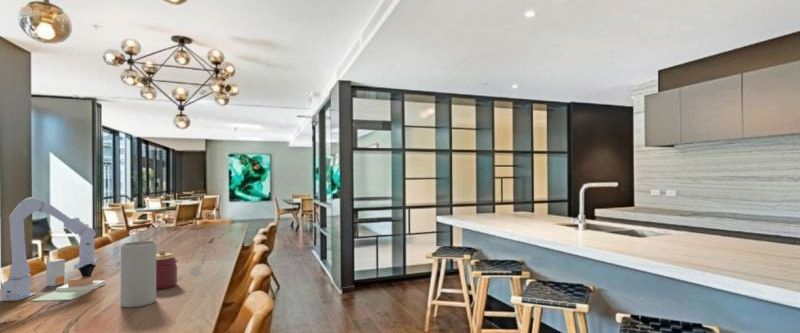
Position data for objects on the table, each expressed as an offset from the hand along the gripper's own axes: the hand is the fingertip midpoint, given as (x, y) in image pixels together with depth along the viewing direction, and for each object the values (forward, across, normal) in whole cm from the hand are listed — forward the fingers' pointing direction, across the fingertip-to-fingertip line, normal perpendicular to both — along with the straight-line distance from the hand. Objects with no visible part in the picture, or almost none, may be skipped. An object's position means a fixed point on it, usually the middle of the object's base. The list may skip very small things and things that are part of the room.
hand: (86, 280), depth 196 cm
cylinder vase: (+3, -31, -40) cm, 50 cm away
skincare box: (+3, +6, +18) cm, 19 cm away
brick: (+1, -4, 0) cm, 4 cm away
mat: (+3, -16, 0) cm, 16 cm away
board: (+3, -4, 0) cm, 5 cm away
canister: (+3, -5, -37) cm, 37 cm away
